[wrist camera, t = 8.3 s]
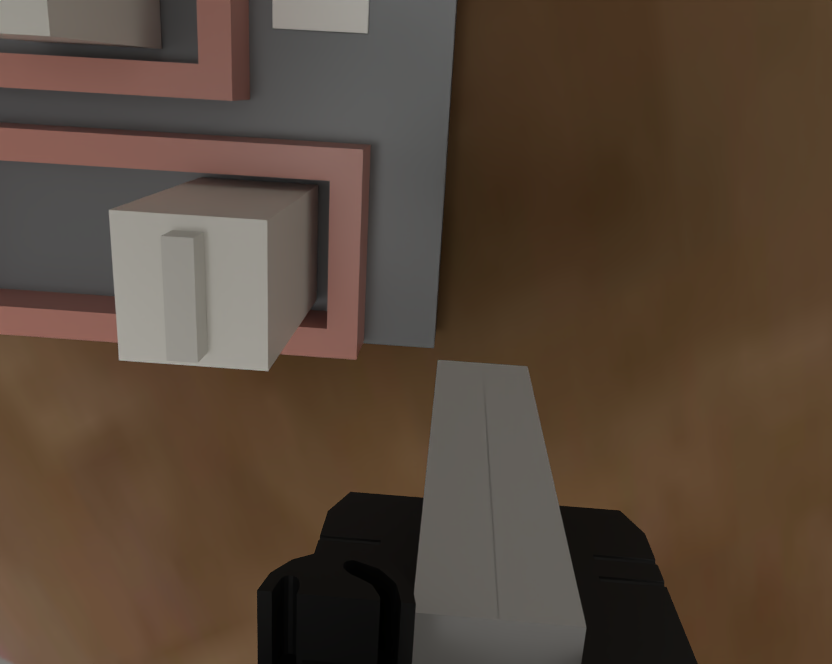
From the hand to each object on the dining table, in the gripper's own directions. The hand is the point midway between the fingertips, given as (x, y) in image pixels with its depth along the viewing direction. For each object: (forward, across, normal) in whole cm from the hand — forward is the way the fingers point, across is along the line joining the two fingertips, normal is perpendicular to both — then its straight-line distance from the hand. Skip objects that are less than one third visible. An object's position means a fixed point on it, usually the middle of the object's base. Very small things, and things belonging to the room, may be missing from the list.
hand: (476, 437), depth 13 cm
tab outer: (+14, -7, 0) cm, 16 cm away
